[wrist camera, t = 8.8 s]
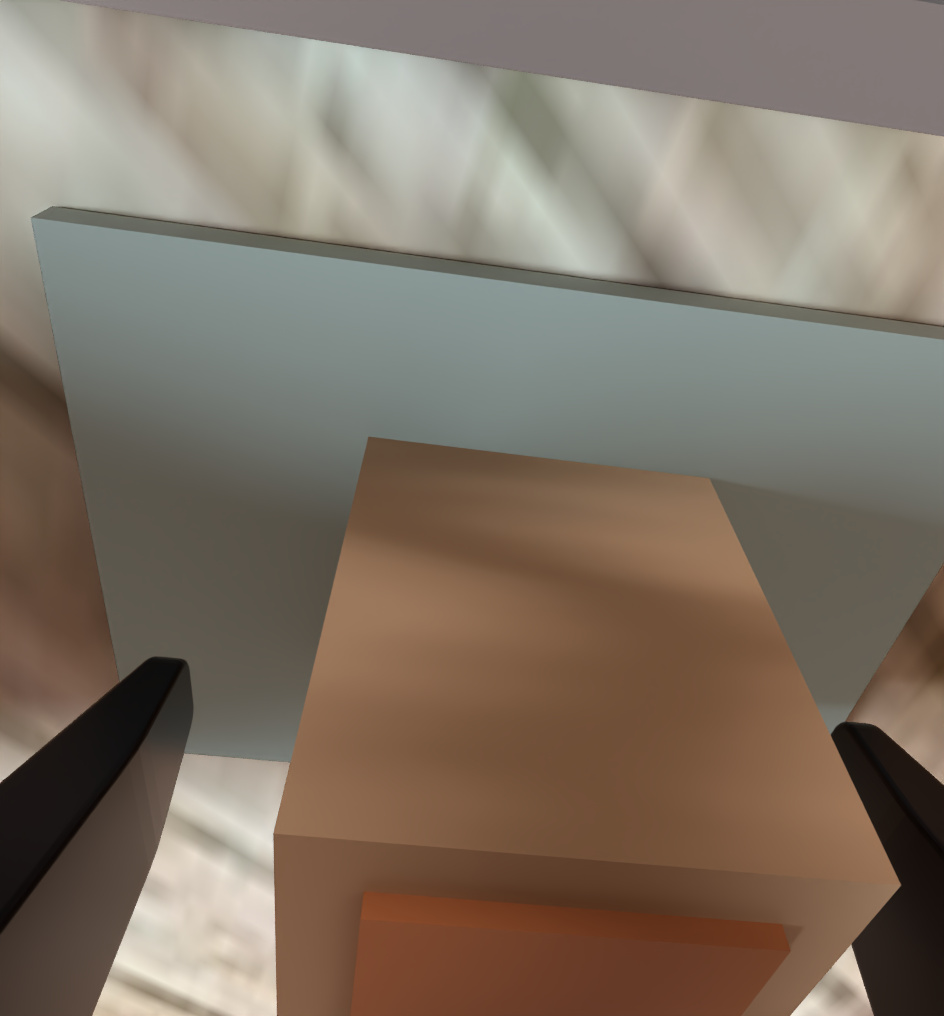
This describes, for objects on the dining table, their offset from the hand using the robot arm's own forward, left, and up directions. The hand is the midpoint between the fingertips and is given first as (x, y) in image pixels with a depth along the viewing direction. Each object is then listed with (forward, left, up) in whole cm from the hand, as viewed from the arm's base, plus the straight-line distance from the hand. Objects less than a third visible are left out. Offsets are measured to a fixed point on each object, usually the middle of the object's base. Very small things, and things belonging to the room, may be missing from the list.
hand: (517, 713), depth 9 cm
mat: (0, 0, -3) cm, 3 cm away
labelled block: (0, 0, -2) cm, 2 cm away
